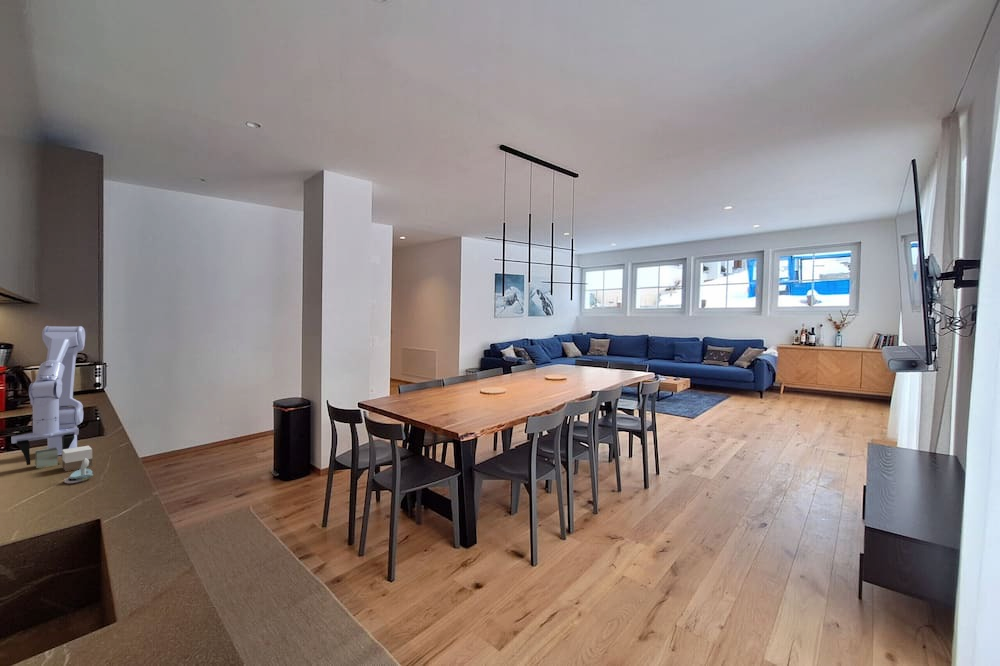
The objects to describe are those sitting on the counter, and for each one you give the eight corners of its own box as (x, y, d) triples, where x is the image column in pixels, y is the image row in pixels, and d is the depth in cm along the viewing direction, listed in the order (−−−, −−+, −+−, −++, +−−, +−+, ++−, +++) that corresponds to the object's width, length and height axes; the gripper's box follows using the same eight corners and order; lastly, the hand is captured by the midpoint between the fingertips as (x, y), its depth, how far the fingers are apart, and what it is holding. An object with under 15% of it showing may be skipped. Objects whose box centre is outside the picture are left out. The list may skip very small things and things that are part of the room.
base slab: (62, 468, 134) (62, 458, 134) (88, 463, 139) (88, 454, 139) (65, 472, 130) (65, 463, 130) (92, 467, 135) (92, 458, 135)
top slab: (62, 459, 134) (62, 449, 134) (88, 454, 138) (88, 445, 138) (65, 463, 130) (65, 453, 130) (92, 458, 135) (92, 449, 135)
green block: (35, 466, 135) (35, 450, 135) (55, 462, 139) (55, 447, 139) (36, 469, 132) (36, 453, 132) (57, 465, 136) (57, 450, 136)
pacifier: (64, 487, 119) (94, 480, 124) (63, 465, 119) (93, 459, 123) (63, 480, 124) (92, 474, 129) (62, 459, 124) (91, 454, 128)
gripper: (12, 424, 127) (12, 469, 127) (80, 416, 138) (80, 458, 139) (10, 420, 131) (11, 464, 132) (76, 413, 143) (76, 454, 143)
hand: (46, 461), depth 135 cm, fingers open, 7 cm apart
